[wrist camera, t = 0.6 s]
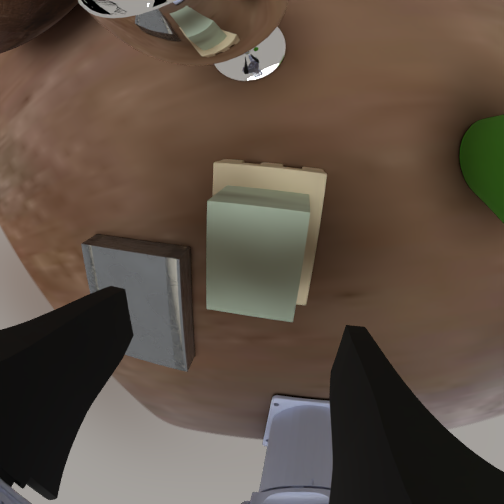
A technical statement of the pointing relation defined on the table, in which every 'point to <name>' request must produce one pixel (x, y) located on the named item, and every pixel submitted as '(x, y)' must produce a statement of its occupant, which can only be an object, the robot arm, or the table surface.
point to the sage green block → (262, 237)
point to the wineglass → (200, 32)
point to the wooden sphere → (29, 19)
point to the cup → (485, 162)
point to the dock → (148, 294)
